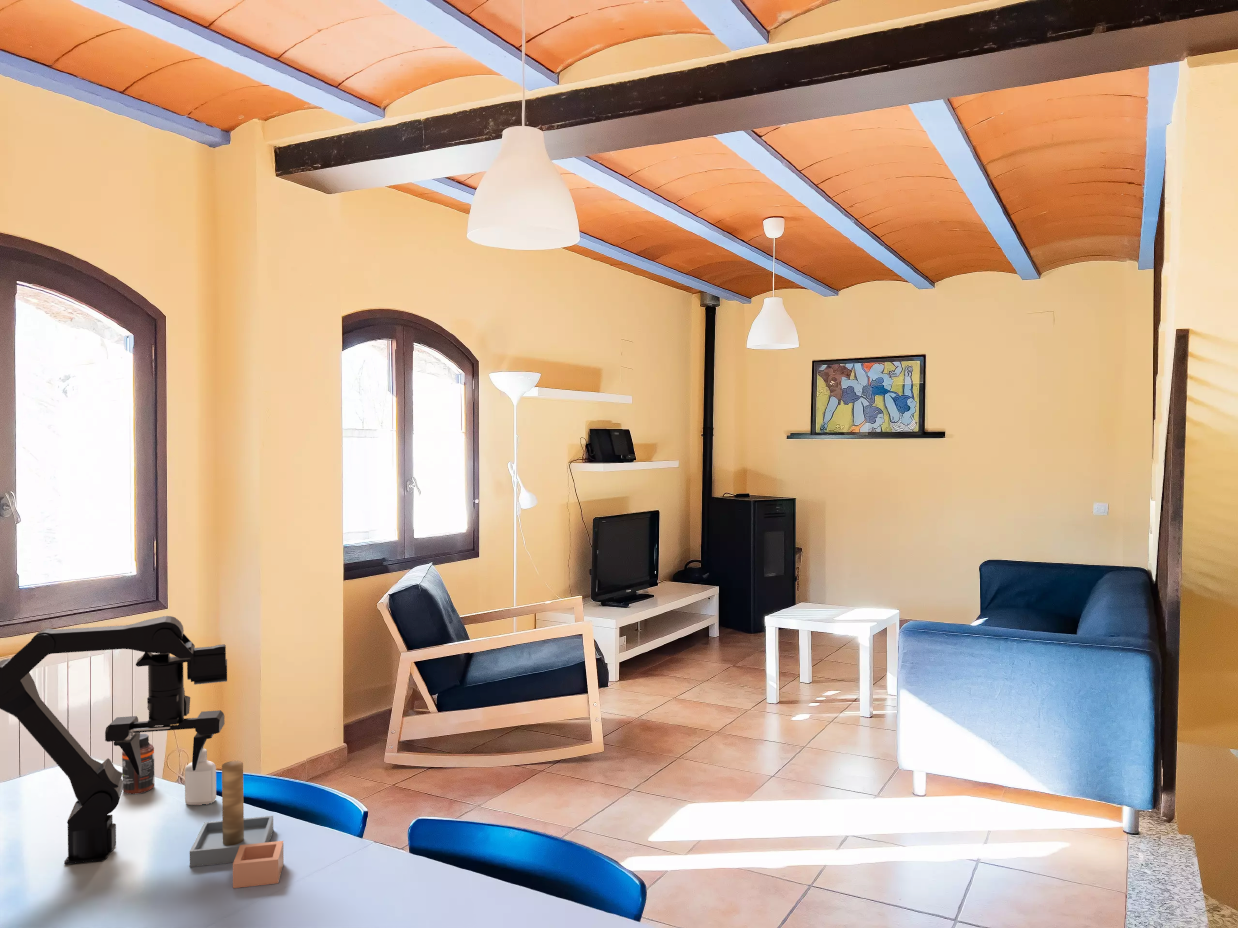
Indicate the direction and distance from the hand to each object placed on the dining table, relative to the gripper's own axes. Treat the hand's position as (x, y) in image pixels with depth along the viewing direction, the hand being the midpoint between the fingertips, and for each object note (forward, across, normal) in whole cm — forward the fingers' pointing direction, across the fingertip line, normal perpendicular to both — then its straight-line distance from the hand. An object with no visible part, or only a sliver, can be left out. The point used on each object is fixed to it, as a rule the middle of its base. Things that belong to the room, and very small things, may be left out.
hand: (167, 771), depth 161 cm
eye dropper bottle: (+13, -2, -18) cm, 22 cm away
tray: (+13, -12, +5) cm, 18 cm away
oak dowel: (+12, -12, +5) cm, 17 cm away
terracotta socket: (+13, -18, +17) cm, 28 cm away
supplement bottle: (+13, +12, -28) cm, 33 cm away
